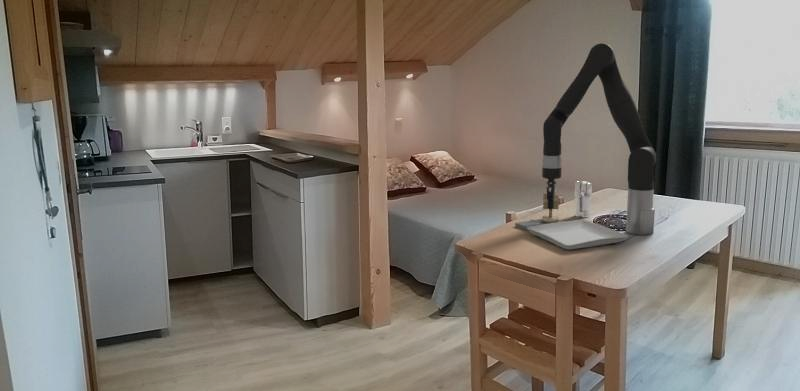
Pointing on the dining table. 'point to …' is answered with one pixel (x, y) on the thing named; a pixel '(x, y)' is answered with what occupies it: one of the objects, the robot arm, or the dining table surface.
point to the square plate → (577, 234)
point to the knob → (550, 217)
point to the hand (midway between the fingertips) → (550, 207)
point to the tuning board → (530, 224)
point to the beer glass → (582, 198)
